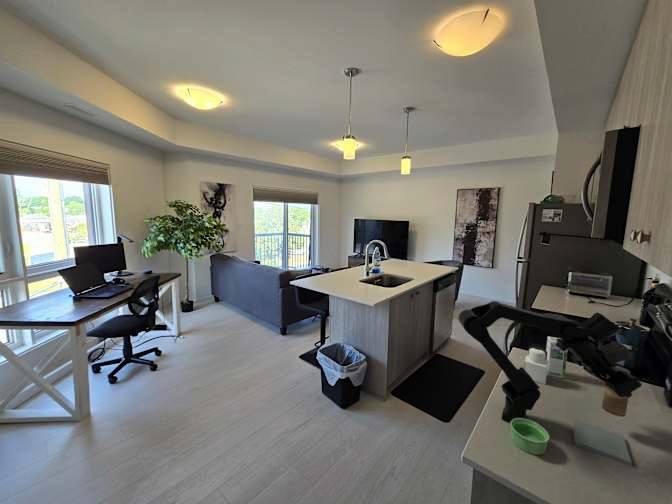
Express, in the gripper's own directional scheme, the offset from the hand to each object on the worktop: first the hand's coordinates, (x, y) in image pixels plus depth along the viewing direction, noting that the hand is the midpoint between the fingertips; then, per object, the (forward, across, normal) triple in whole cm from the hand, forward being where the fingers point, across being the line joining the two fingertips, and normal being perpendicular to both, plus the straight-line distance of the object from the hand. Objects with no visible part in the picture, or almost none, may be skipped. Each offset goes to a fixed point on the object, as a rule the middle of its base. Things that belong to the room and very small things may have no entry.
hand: (622, 390), depth 82 cm
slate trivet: (+3, -6, +15) cm, 16 cm away
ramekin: (-10, -10, +30) cm, 33 cm away
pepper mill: (+4, 0, +6) cm, 7 cm away
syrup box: (+9, +31, +9) cm, 33 cm away
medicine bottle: (+3, +26, +16) cm, 31 cm away
